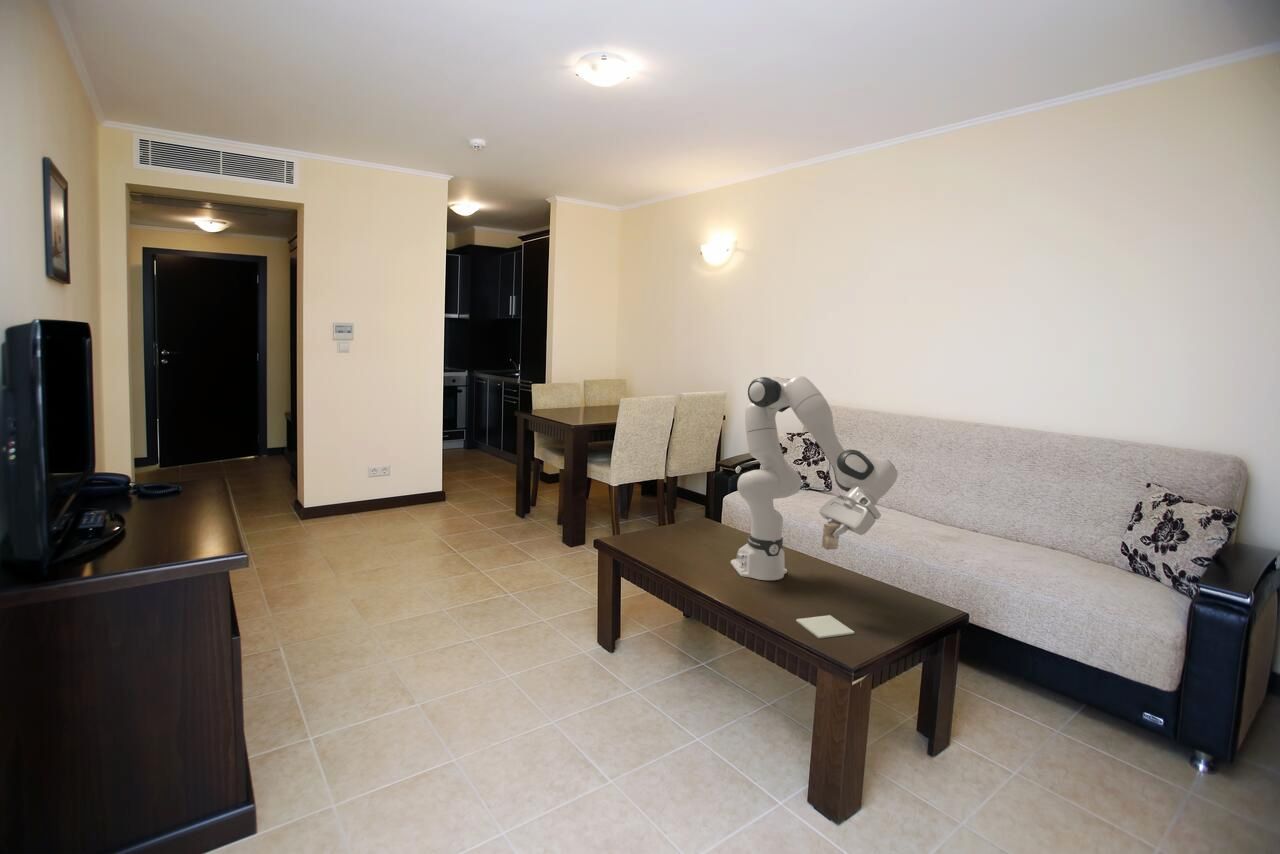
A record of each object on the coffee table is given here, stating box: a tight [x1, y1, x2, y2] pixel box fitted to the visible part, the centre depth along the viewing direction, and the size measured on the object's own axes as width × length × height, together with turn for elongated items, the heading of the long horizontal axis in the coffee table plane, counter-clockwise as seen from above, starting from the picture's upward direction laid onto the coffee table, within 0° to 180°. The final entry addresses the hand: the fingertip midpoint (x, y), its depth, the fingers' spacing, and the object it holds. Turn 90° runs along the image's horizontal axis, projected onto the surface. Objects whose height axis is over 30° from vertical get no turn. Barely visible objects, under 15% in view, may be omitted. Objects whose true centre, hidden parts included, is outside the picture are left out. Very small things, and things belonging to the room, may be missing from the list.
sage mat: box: [795, 614, 855, 639], centre depth 194 cm, size 12×12×1 cm
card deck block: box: [821, 523, 840, 550], centre depth 202 cm, size 3×4×8 cm
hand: (829, 534), depth 202 cm, fingers closed on card deck block, 3 cm apart
